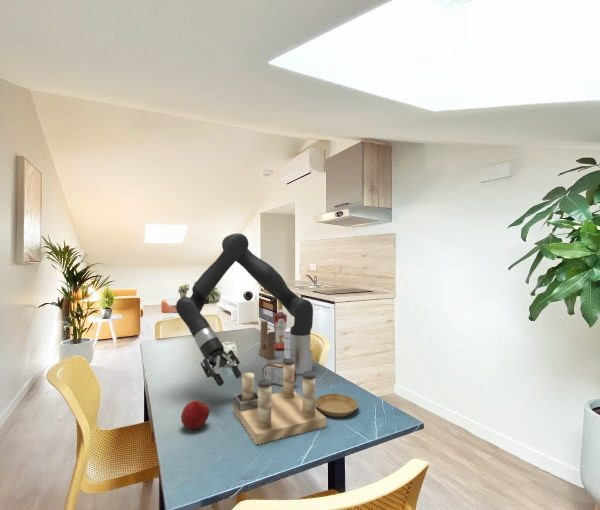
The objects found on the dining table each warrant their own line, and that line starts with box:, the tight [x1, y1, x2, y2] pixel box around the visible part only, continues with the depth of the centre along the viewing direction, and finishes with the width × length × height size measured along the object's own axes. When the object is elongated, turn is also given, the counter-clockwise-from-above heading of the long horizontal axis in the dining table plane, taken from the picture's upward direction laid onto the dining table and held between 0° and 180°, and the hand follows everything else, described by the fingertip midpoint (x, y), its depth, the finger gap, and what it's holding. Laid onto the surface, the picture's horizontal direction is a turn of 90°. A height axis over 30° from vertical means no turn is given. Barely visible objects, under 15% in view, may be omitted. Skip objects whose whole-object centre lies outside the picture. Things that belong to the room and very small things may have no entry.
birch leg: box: [241, 372, 255, 402], centre depth 113 cm, size 4×4×10 cm
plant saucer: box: [315, 393, 359, 418], centre depth 117 cm, size 15×15×3 cm
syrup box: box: [283, 327, 291, 359], centre depth 174 cm, size 6×6×14 cm
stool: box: [232, 358, 327, 446], centre depth 110 cm, size 23×23×16 cm
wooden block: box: [258, 320, 276, 361], centre depth 174 cm, size 4×11×18 cm, turn 33°
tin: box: [261, 361, 298, 387], centre depth 138 cm, size 15×3×8 cm, turn 65°
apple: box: [180, 399, 210, 430], centre depth 104 cm, size 8×8×8 cm
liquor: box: [273, 299, 288, 351], centre depth 189 cm, size 7×7×28 cm
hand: (231, 380), depth 117 cm, fingers open, 8 cm apart
